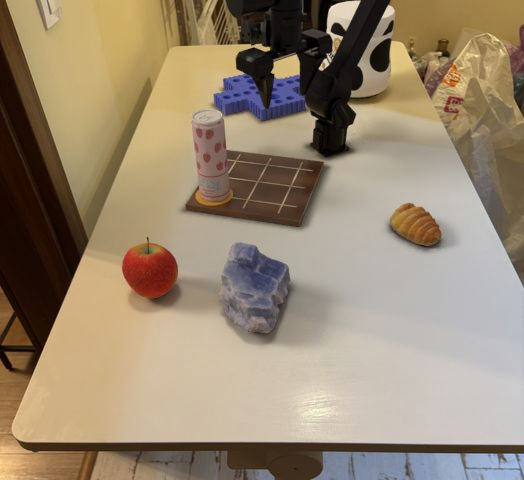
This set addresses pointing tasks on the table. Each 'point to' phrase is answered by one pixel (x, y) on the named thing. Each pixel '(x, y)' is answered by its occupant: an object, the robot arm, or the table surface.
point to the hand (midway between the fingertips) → (284, 101)
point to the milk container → (375, 56)
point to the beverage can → (211, 154)
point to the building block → (247, 97)
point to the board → (264, 188)
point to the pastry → (415, 225)
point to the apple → (150, 269)
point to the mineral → (253, 288)
